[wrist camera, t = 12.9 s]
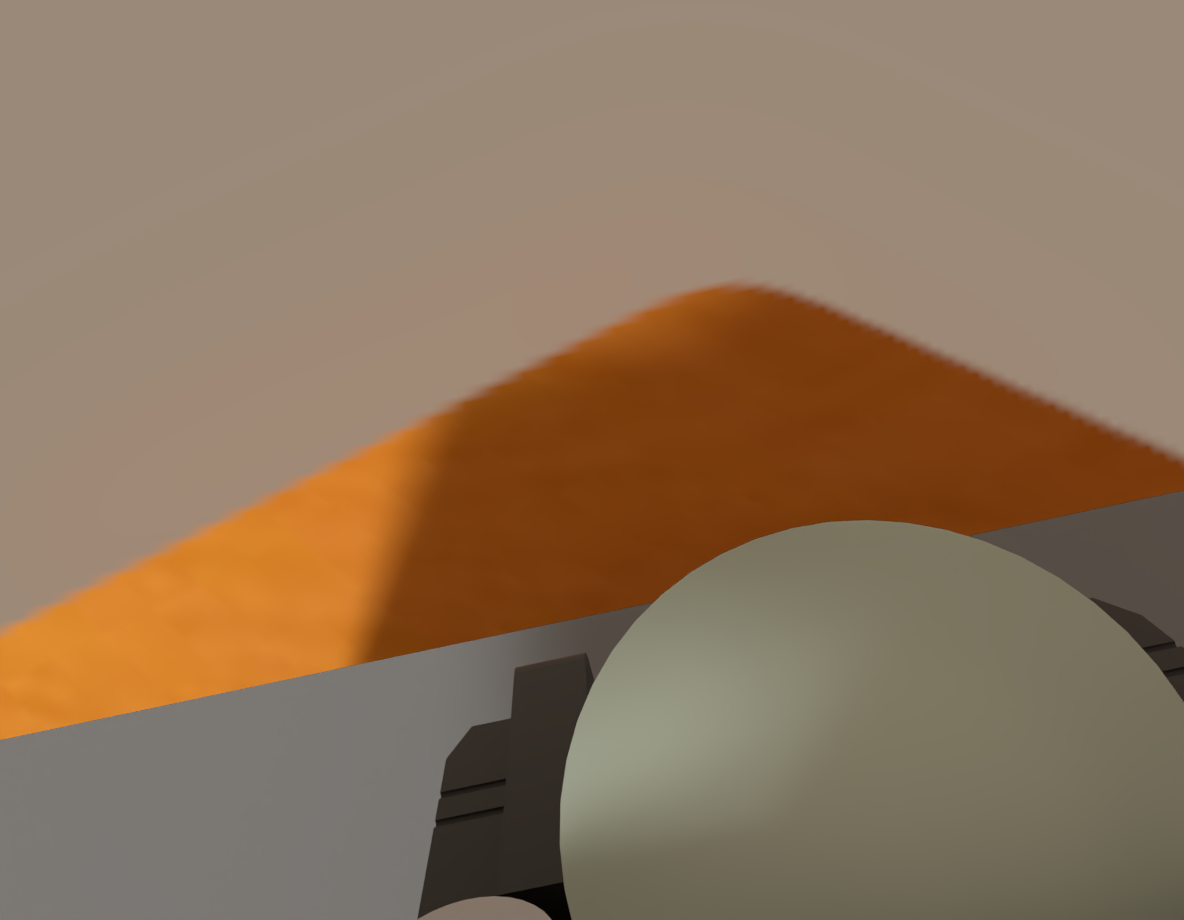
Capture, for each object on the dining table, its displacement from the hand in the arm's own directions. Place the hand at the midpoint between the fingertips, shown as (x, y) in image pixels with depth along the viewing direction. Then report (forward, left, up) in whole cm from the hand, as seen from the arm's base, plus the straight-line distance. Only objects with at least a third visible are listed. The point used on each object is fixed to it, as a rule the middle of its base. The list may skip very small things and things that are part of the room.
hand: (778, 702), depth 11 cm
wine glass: (0, -2, -6) cm, 7 cm away
